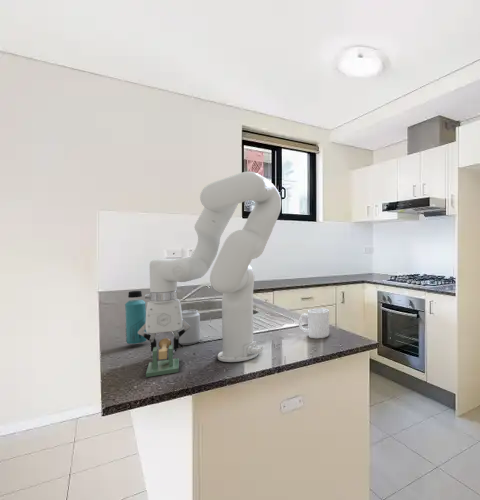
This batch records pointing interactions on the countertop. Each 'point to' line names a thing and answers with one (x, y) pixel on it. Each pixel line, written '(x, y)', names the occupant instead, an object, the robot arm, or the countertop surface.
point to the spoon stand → (162, 364)
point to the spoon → (164, 348)
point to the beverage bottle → (135, 318)
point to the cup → (316, 323)
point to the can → (194, 331)
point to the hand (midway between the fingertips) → (165, 351)
